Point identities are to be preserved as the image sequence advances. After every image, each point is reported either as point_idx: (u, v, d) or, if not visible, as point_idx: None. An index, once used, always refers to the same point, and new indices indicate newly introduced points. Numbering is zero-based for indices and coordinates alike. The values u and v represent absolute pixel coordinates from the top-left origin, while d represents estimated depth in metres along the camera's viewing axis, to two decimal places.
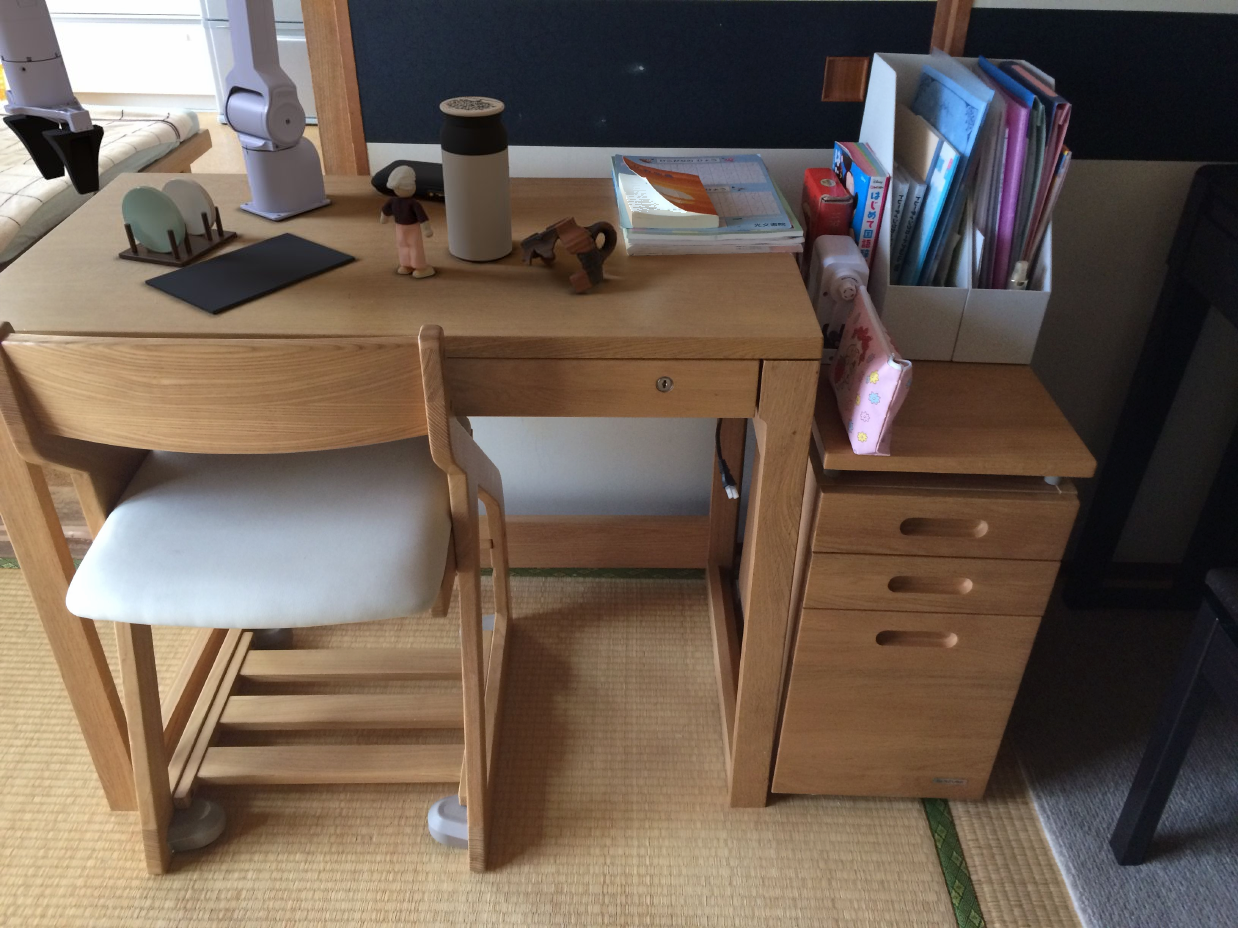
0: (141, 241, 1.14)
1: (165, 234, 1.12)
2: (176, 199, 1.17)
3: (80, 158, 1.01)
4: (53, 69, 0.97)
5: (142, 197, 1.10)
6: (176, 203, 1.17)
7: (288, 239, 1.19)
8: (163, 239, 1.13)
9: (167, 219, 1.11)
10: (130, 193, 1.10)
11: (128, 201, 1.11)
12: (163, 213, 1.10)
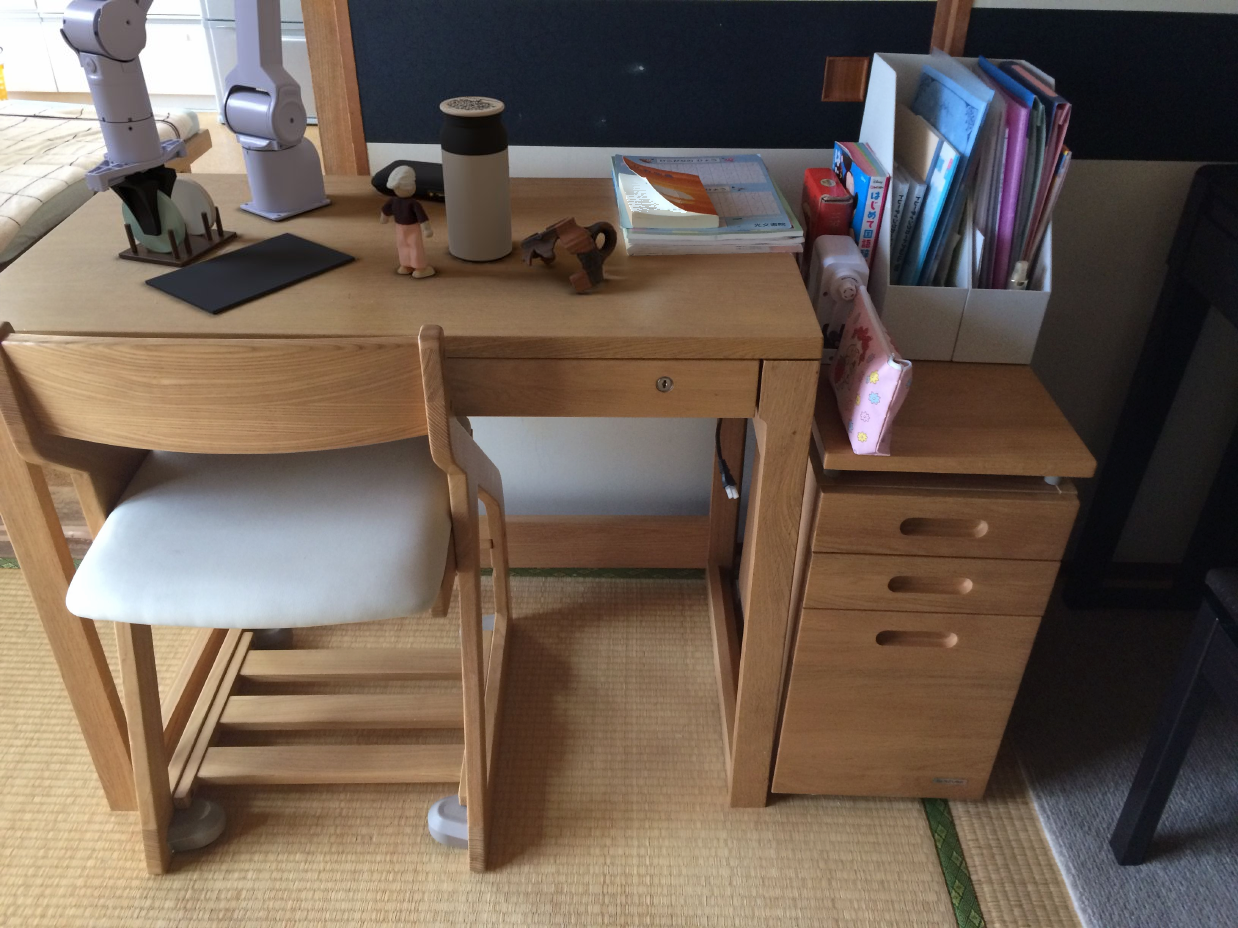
0: (141, 241, 1.14)
1: (165, 234, 1.12)
2: (177, 199, 1.17)
3: (141, 204, 1.10)
4: (116, 131, 1.03)
5: None
6: (176, 203, 1.17)
7: (288, 239, 1.19)
8: (163, 239, 1.13)
9: (167, 219, 1.11)
10: None
11: None
12: (163, 213, 1.10)
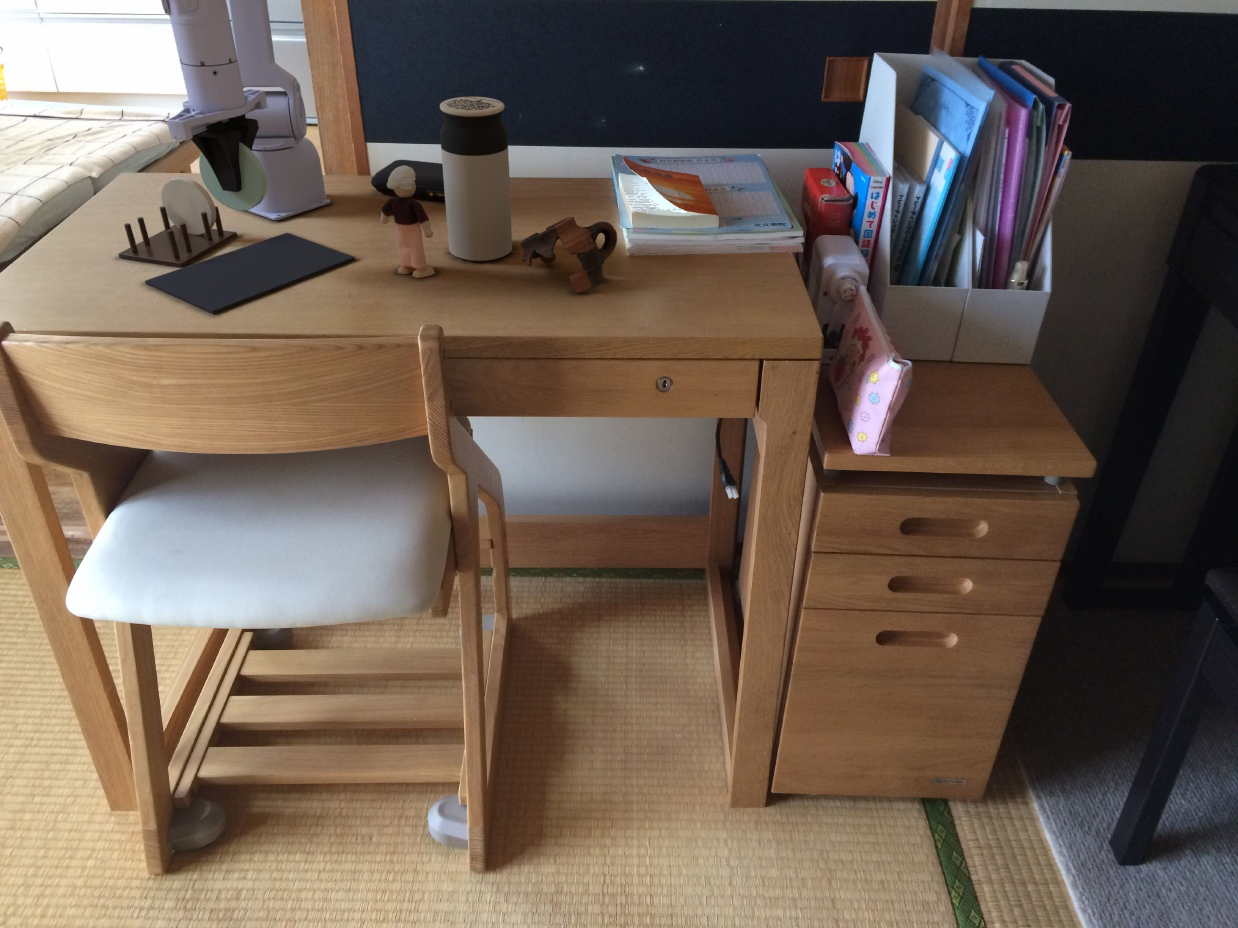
0: (218, 198, 1.07)
1: (244, 191, 1.05)
2: (177, 199, 1.17)
3: (221, 157, 1.02)
4: (200, 76, 0.96)
5: None
6: (176, 203, 1.17)
7: (288, 239, 1.19)
8: (242, 196, 1.05)
9: (248, 174, 1.04)
10: None
11: None
12: (244, 167, 1.03)
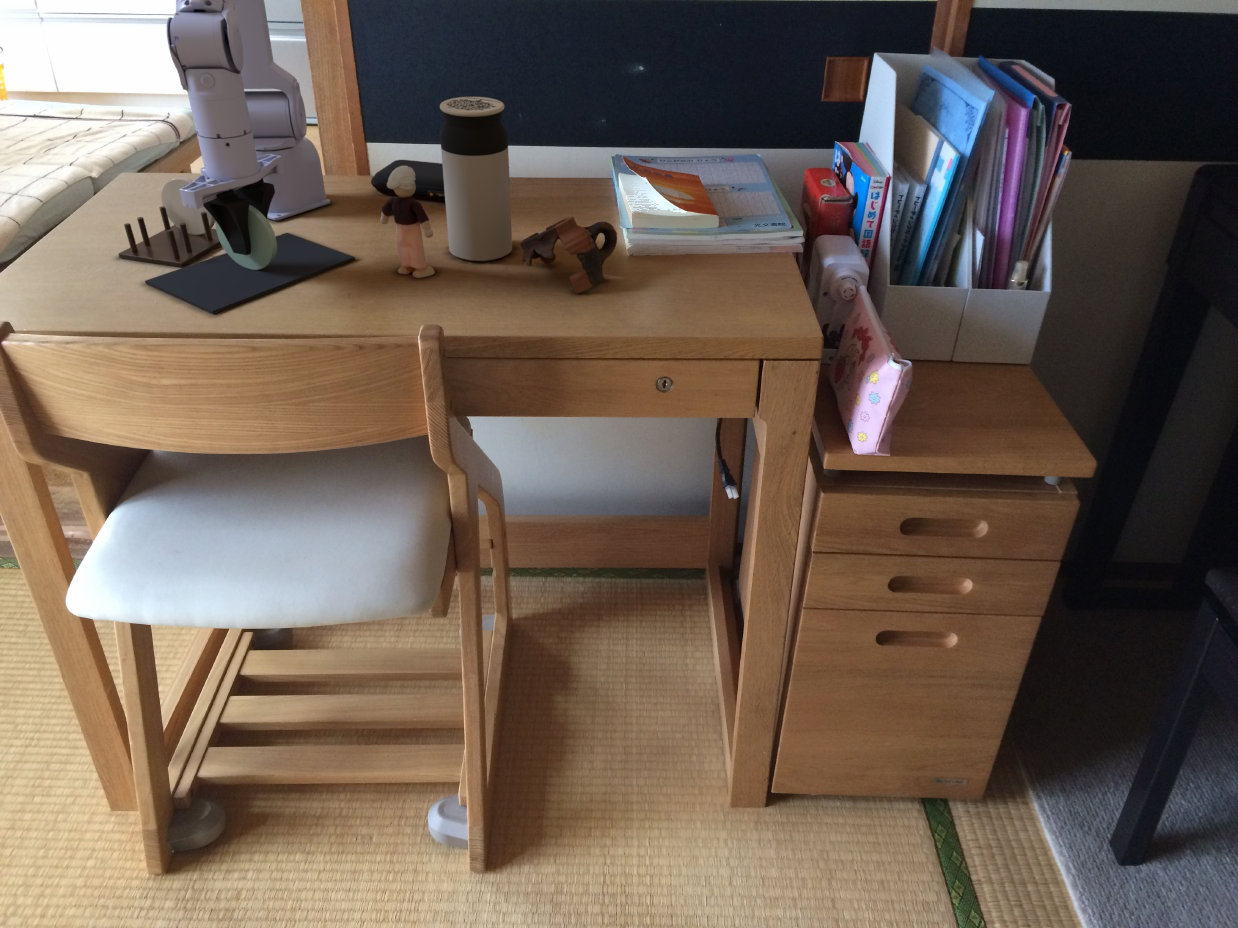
0: (233, 257, 1.11)
1: (256, 251, 1.09)
2: (177, 199, 1.17)
3: (232, 222, 1.06)
4: (213, 147, 1.00)
5: None
6: (176, 203, 1.17)
7: (288, 239, 1.19)
8: (254, 256, 1.09)
9: (259, 236, 1.08)
10: None
11: None
12: (256, 230, 1.07)
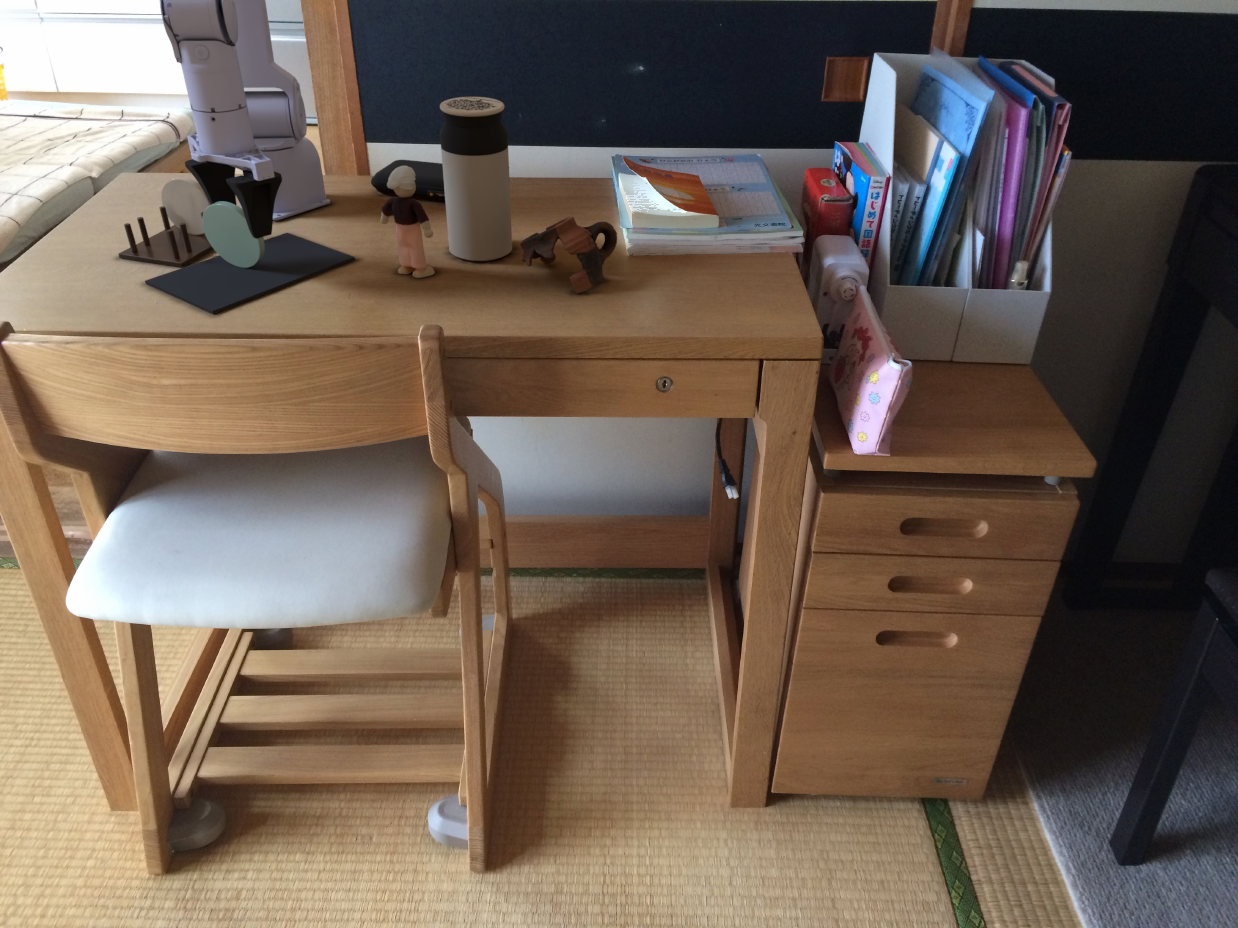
0: (232, 262, 1.11)
1: (246, 246, 1.09)
2: (177, 199, 1.17)
3: (258, 204, 1.04)
4: (239, 119, 1.00)
5: (215, 214, 1.07)
6: (176, 203, 1.17)
7: (288, 239, 1.19)
8: (247, 251, 1.09)
9: (242, 228, 1.07)
10: (205, 215, 1.08)
11: (207, 224, 1.09)
12: (236, 223, 1.07)
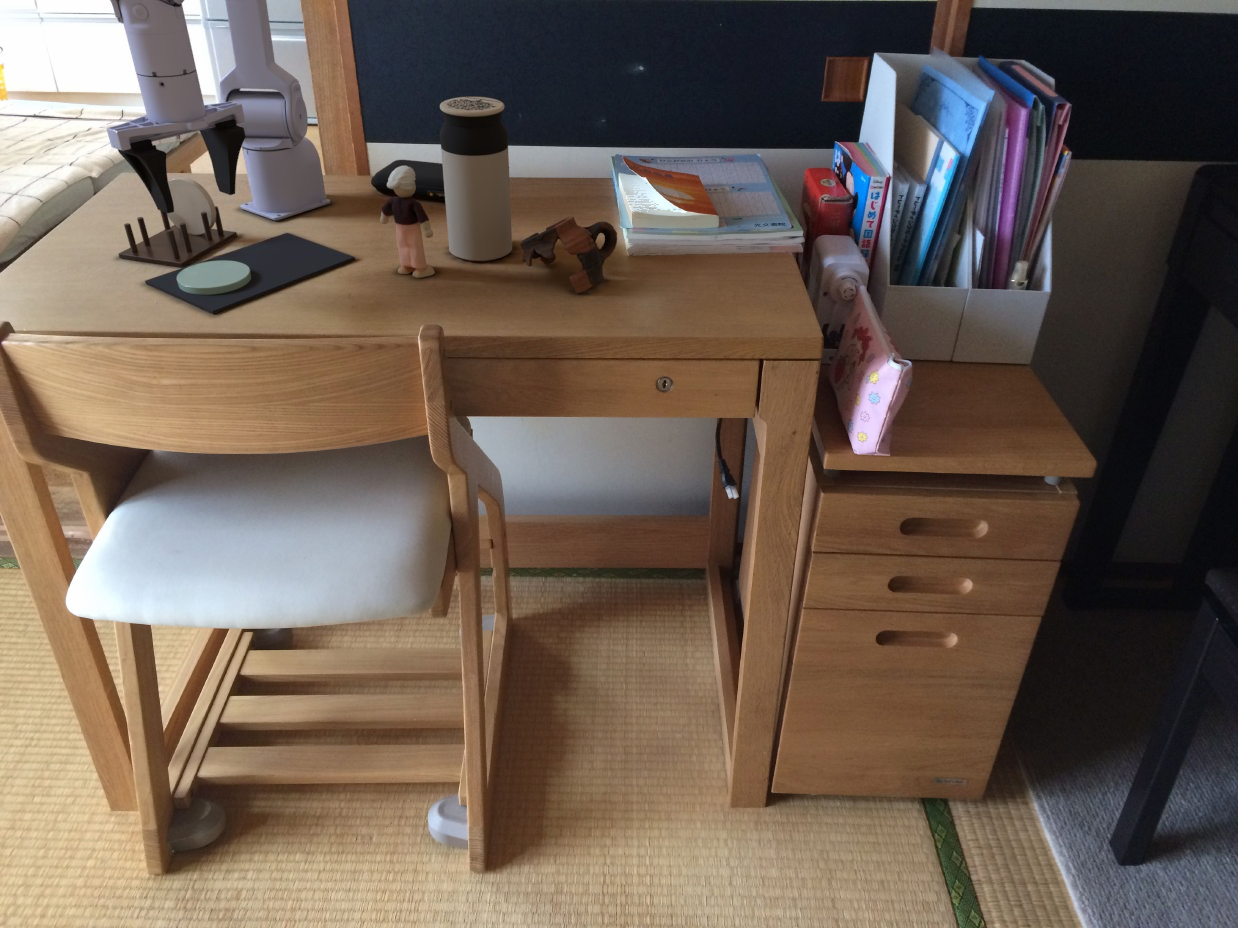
0: None
1: None
2: (177, 199, 1.17)
3: None
4: None
5: None
6: (176, 203, 1.17)
7: (288, 239, 1.19)
8: None
9: None
10: None
11: None
12: None
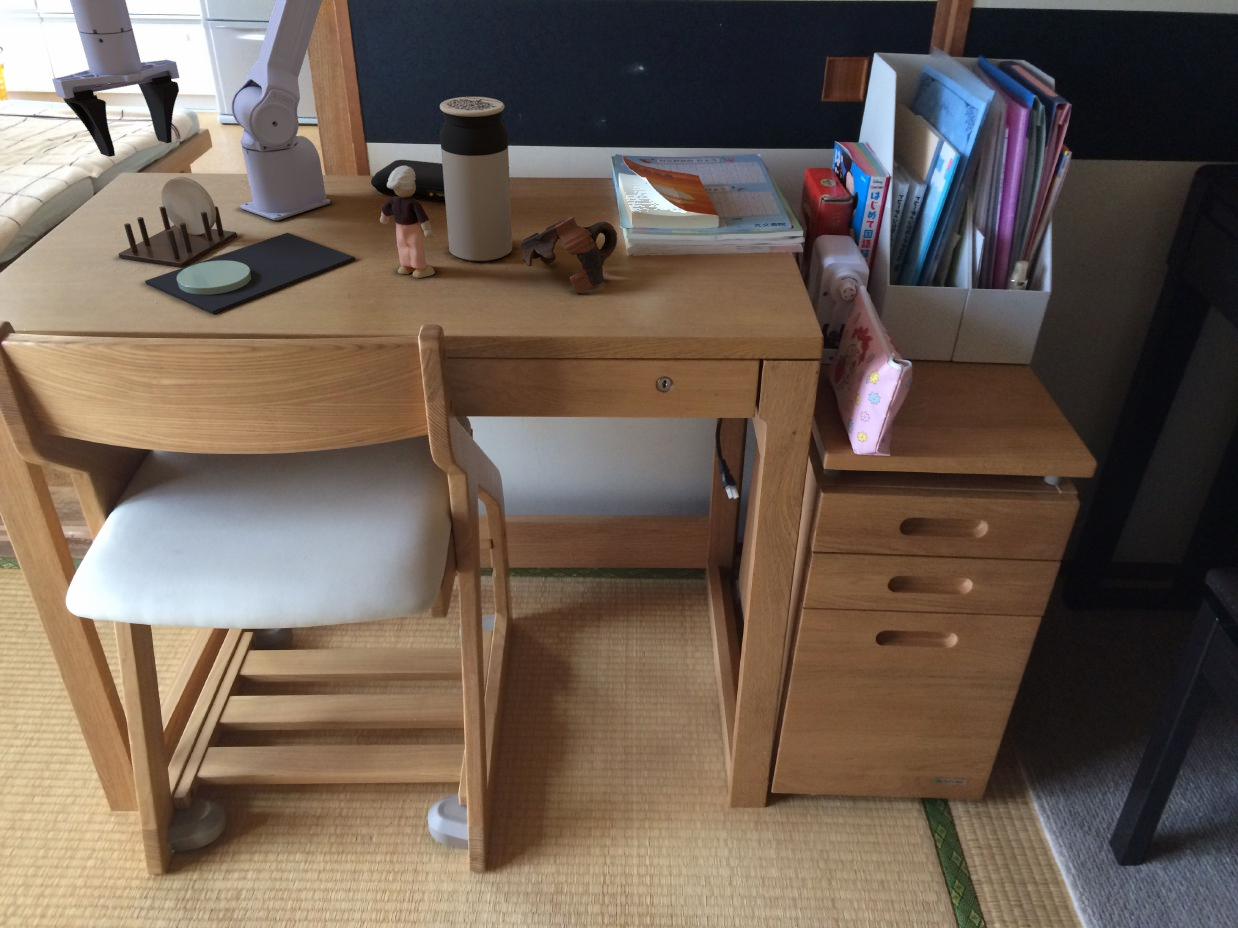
0: None
1: None
2: (177, 199, 1.17)
3: None
4: None
5: None
6: (176, 203, 1.17)
7: (288, 239, 1.19)
8: None
9: None
10: None
11: None
12: None
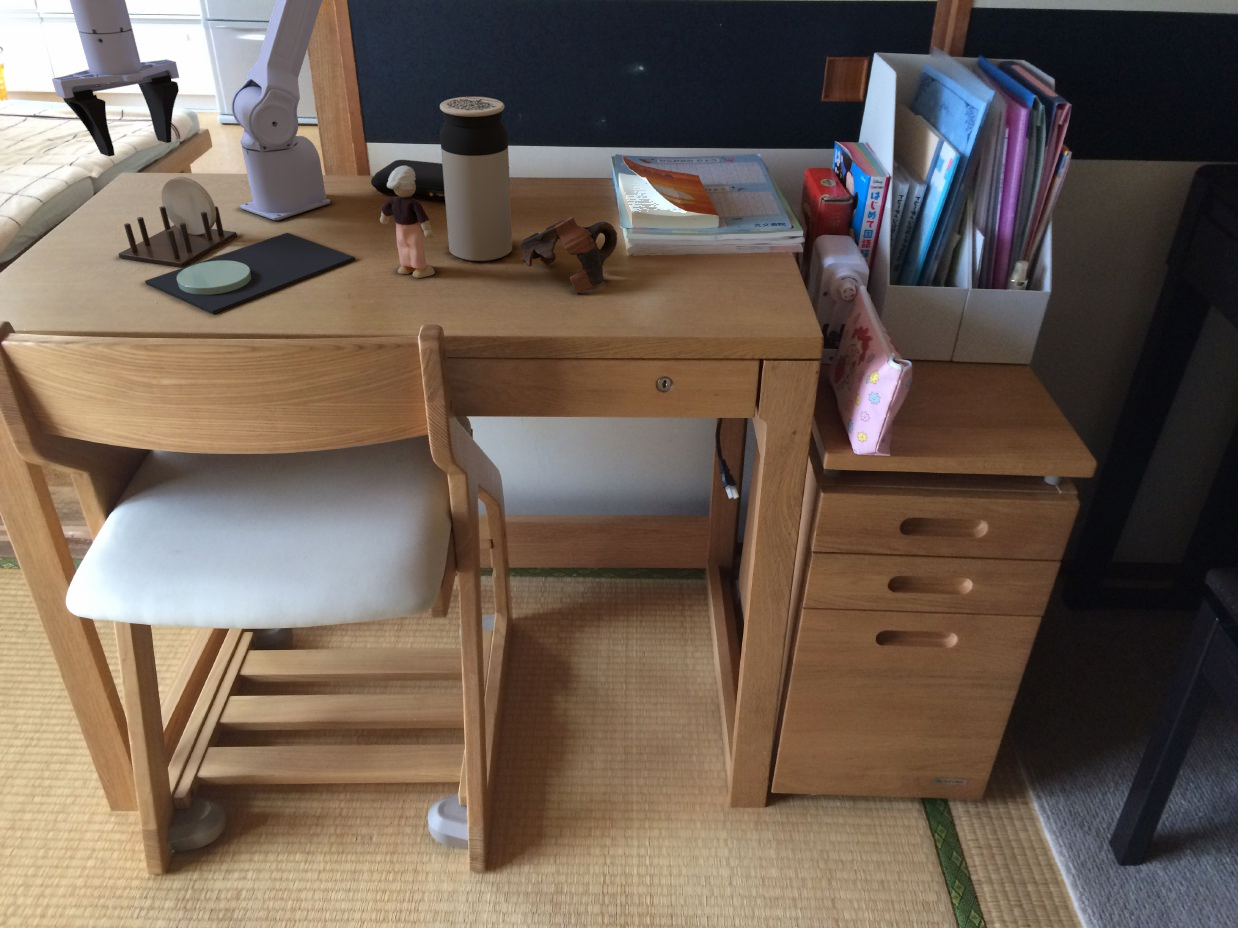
0: None
1: None
2: (177, 199, 1.17)
3: None
4: None
5: None
6: (176, 203, 1.17)
7: (288, 239, 1.19)
8: None
9: None
10: None
11: None
12: None
